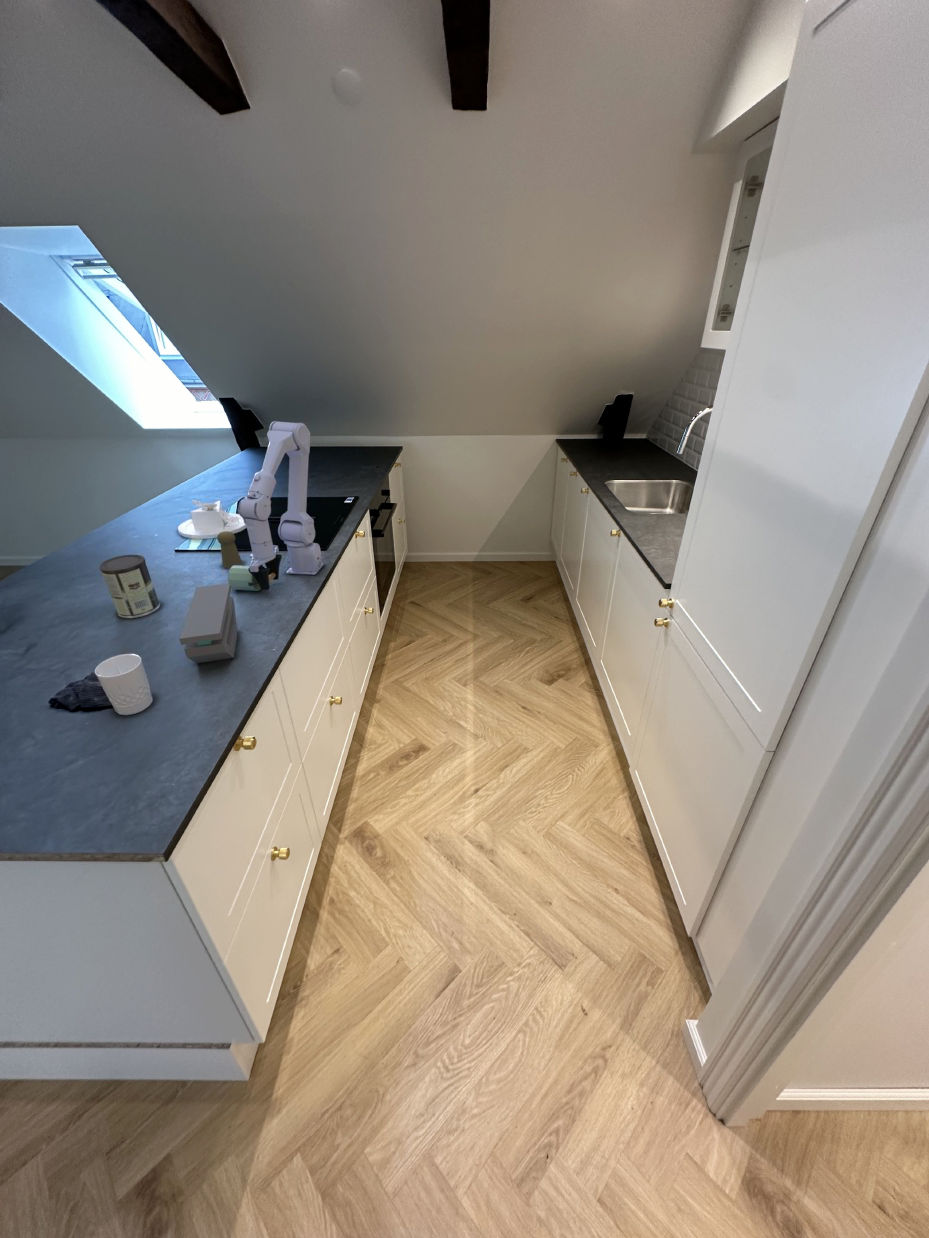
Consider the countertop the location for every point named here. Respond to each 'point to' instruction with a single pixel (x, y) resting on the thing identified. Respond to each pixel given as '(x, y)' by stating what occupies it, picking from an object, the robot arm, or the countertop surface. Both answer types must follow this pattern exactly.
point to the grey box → (210, 625)
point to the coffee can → (130, 585)
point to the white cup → (125, 683)
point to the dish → (210, 522)
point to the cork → (229, 550)
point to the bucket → (244, 579)
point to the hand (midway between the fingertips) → (270, 584)
